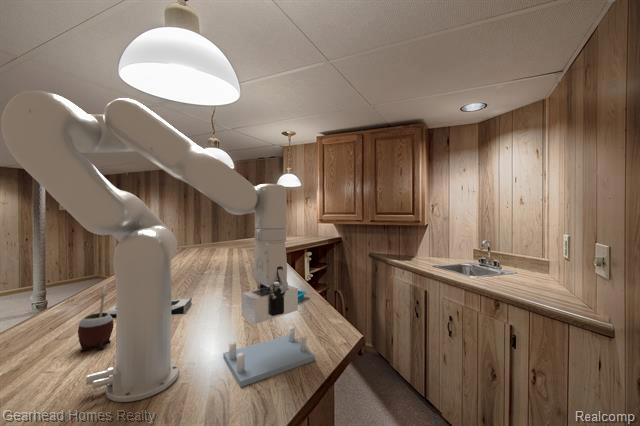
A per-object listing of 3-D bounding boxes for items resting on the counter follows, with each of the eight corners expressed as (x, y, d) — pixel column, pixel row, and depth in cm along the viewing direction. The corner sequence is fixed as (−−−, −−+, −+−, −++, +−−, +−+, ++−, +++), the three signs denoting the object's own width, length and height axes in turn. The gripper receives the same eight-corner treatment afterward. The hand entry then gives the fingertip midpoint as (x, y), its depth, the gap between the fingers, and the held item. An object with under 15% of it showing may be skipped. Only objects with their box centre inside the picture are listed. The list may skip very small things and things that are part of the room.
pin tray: (240, 387, 54) (240, 364, 54) (223, 357, 65) (223, 338, 65) (314, 360, 64) (315, 340, 64) (289, 338, 75) (289, 322, 75)
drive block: (255, 324, 58) (255, 298, 58) (241, 316, 63) (241, 292, 63) (297, 310, 67) (297, 288, 67) (283, 304, 71) (283, 283, 71)
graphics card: (186, 305, 92) (104, 309, 88) (186, 315, 93) (104, 320, 88) (194, 296, 102) (120, 299, 97) (194, 305, 102) (120, 309, 97)
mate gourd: (85, 357, 65) (85, 294, 64) (71, 348, 68) (72, 289, 68) (120, 344, 71) (121, 287, 71) (106, 337, 75) (106, 283, 75)
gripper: (243, 233, 70) (243, 302, 70) (271, 239, 55) (271, 326, 55) (270, 232, 74) (270, 297, 74) (302, 237, 60) (302, 318, 60)
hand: (270, 309), depth 65 cm, fingers closed on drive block, 6 cm apart
